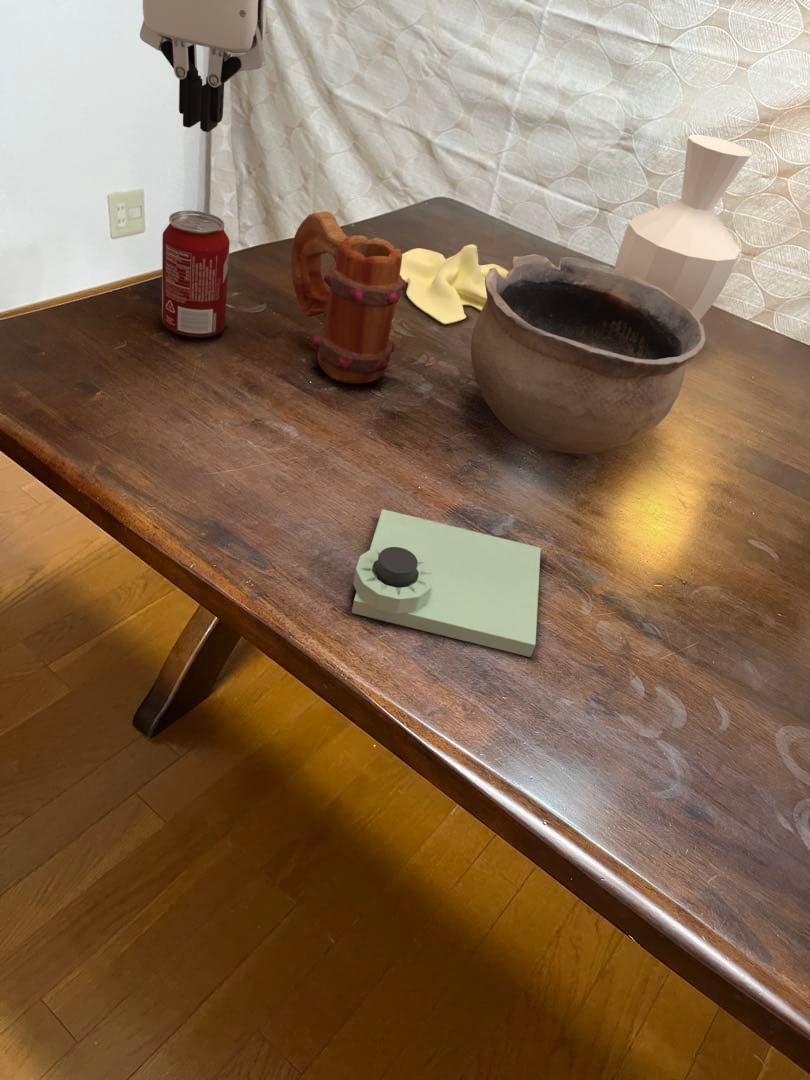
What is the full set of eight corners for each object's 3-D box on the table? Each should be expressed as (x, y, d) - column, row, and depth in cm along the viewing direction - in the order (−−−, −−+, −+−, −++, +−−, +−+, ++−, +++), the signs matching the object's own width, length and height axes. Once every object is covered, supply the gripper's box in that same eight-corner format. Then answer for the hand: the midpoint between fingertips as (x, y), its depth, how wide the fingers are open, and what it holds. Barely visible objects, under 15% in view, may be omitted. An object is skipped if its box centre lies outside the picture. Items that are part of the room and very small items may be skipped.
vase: (660, 316, 124) (733, 132, 108) (716, 366, 114) (805, 171, 98) (575, 313, 119) (638, 120, 103) (625, 365, 109) (704, 160, 93)
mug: (406, 383, 95) (433, 250, 85) (353, 402, 89) (376, 262, 80) (316, 327, 101) (332, 197, 92) (262, 342, 96) (274, 206, 87)
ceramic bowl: (538, 362, 105) (576, 241, 95) (689, 451, 94) (748, 326, 85) (411, 406, 91) (440, 270, 82) (572, 517, 81) (627, 376, 71)
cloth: (384, 249, 124) (392, 206, 120) (508, 268, 127) (519, 226, 124) (397, 318, 107) (406, 271, 103) (539, 337, 110) (553, 292, 107)
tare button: (371, 582, 65) (375, 567, 64) (379, 558, 67) (382, 542, 66) (410, 592, 65) (414, 577, 64) (416, 567, 67) (420, 552, 66)
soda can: (218, 347, 93) (224, 238, 86) (155, 336, 92) (155, 225, 85) (229, 320, 98) (235, 215, 91) (169, 309, 98) (170, 203, 90)
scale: (344, 615, 65) (349, 586, 63) (374, 519, 75) (380, 492, 73) (530, 661, 65) (541, 634, 63) (536, 559, 75) (546, 533, 73)
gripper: (309, -91, 74) (289, 136, 85) (135, -132, 74) (138, 99, 85) (286, -88, 68) (267, 155, 79) (97, -133, 68) (105, 116, 79)
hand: (200, 125), depth 82 cm, fingers closed
